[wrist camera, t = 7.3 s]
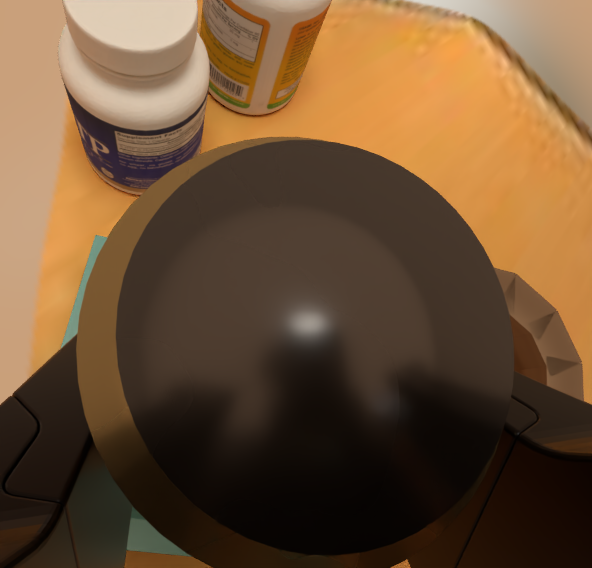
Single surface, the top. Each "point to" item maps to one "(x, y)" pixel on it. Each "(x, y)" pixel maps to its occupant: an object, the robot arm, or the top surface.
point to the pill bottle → (135, 85)
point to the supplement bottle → (259, 49)
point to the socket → (540, 338)
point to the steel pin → (295, 357)
